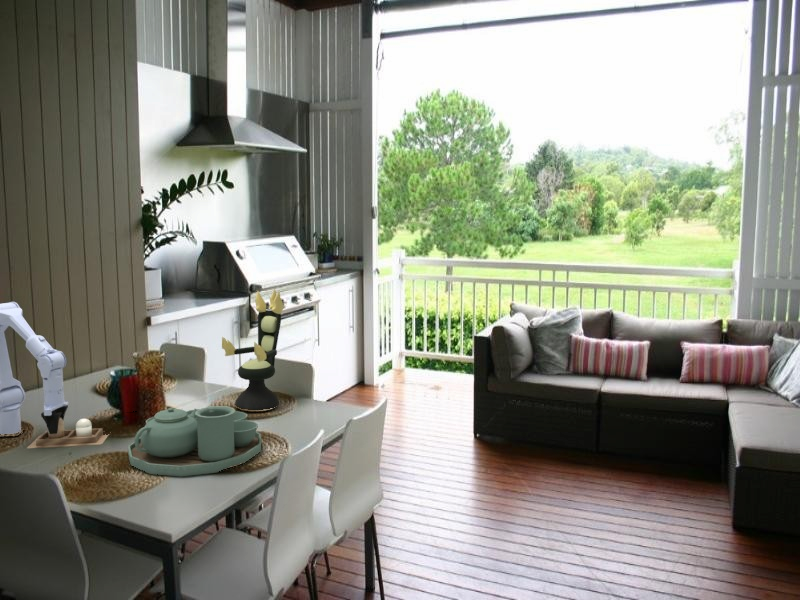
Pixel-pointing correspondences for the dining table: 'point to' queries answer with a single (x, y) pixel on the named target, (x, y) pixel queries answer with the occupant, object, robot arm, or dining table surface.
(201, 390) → the dining table surface
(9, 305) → the robot arm
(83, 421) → the cream egg
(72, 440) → the wooden divided tray
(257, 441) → the tea set
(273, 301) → the toy throne chair
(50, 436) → the brown egg
